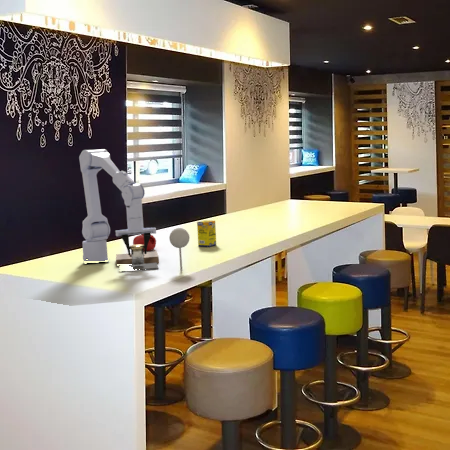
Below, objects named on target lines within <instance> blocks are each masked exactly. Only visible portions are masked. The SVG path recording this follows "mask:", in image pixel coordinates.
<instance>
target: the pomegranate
mask: <svg viewBox="0 0 450 450" xmlns="http://www.w3.org/2000/svg"><path fill="white" fill-rule="evenodd" d="M138 244H141V245H144V234H138V235H136V236H134V238H133V239H132V245H138ZM156 244H157V240H156V237H155V236H154V235H152V234H151V237H150V239H149V242H148V246H147V252H152V251H154V249H155V248H156V246H157V245H156ZM143 252H144V248H143Z"/></svg>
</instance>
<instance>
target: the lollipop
mask: <svg viewBox="0 0 450 450" xmlns="http://www.w3.org/2000/svg"><path fill="white" fill-rule="evenodd" d="M169 242H170V244H171V246H173V247H174V248H176V249H178V253H179V266H180V271H183V261H182V260H183V259H182V248H185V247H186V246H187V245H188V244H189V242H190V234H189V232H188V231H187V230H186V229H184V228H183V227H178V228H174V229H172V231H171V232H170V234H169Z"/></svg>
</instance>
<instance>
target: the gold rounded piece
mask: <svg viewBox="0 0 450 450" xmlns="http://www.w3.org/2000/svg"><path fill="white" fill-rule="evenodd" d="M129 247H130V253H131V255H132V264H133V265H140V264H144V253H143V252H144V251H143V248H144V245H141V244H138V245H133V244H131V245H129Z"/></svg>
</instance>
